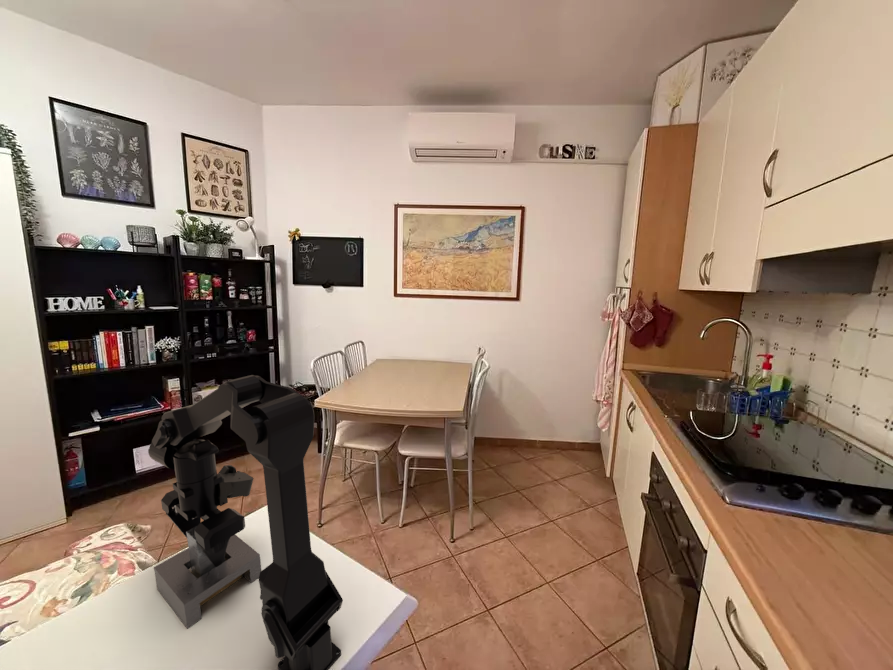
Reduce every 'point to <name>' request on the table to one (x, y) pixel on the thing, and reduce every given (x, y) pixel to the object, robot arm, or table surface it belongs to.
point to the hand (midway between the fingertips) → (206, 553)
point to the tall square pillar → (198, 556)
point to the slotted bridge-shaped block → (204, 579)
